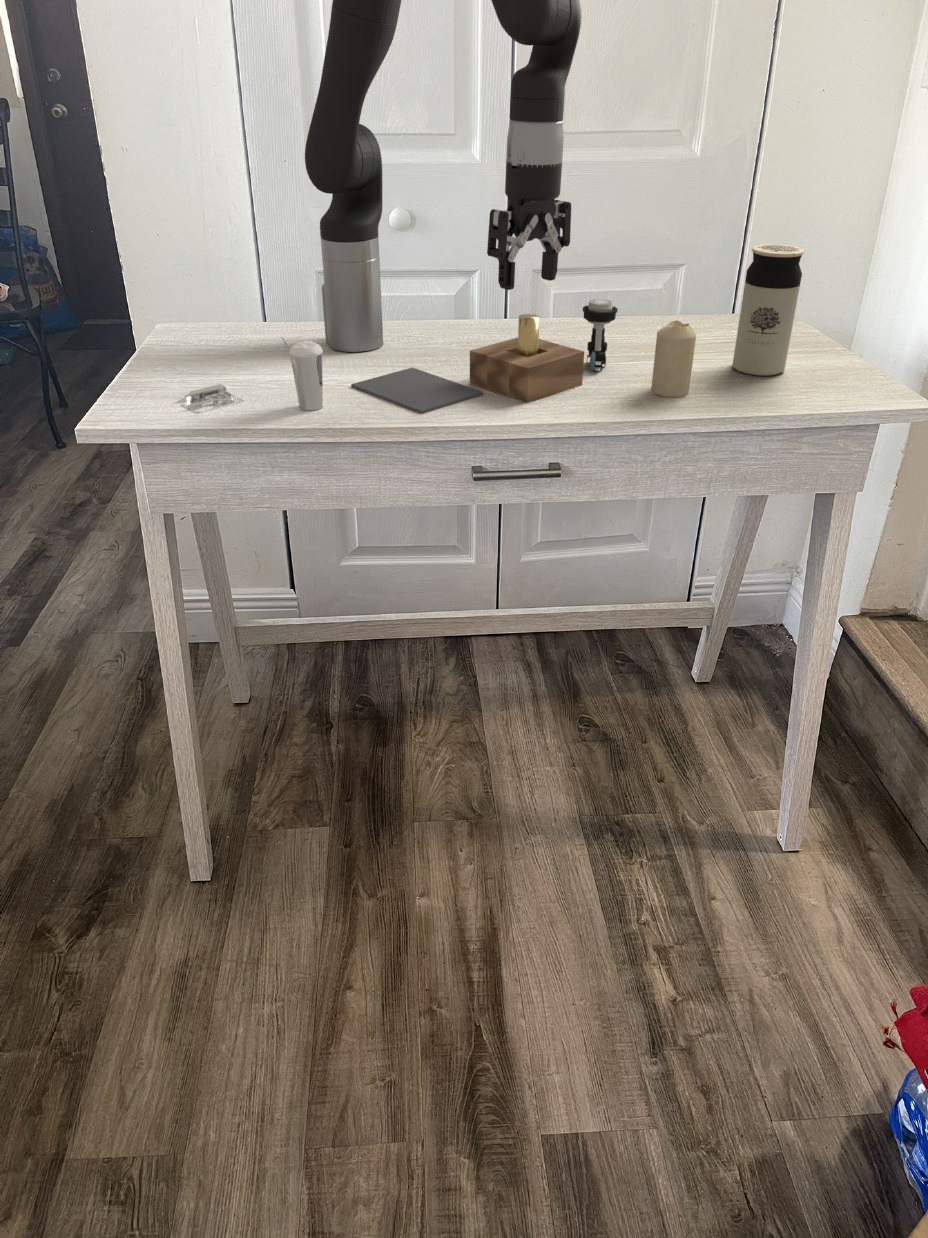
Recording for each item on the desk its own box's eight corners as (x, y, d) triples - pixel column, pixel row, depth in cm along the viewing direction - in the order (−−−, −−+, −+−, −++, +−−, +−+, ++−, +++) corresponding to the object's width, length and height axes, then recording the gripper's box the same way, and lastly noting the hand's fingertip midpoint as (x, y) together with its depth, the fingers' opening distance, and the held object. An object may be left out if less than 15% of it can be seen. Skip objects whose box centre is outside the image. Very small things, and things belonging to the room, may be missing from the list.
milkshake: (290, 402, 135) (283, 332, 130) (327, 401, 136) (322, 331, 130) (287, 413, 132) (280, 341, 126) (326, 412, 132) (320, 340, 127)
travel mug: (743, 358, 153) (761, 241, 144) (791, 367, 149) (813, 247, 140) (724, 370, 148) (742, 249, 138) (773, 380, 144) (795, 256, 134)
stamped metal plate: (222, 393, 141) (220, 383, 140) (246, 405, 136) (245, 395, 136) (173, 404, 136) (171, 395, 135) (196, 417, 132) (195, 407, 131)
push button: (614, 374, 146) (619, 308, 141) (579, 373, 147) (584, 307, 141) (611, 361, 152) (617, 297, 147) (578, 360, 152) (582, 297, 147)
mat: (351, 386, 141) (351, 384, 141) (412, 369, 148) (412, 367, 148) (421, 413, 131) (421, 410, 131) (483, 394, 138) (483, 391, 138)
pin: (512, 383, 142) (514, 316, 137) (526, 379, 144) (528, 312, 139) (526, 388, 141) (529, 320, 135) (540, 384, 142) (543, 316, 137)
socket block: (469, 383, 143) (469, 350, 140) (524, 366, 150) (525, 335, 147) (527, 402, 135) (528, 368, 133) (582, 384, 142) (584, 351, 140)
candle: (648, 385, 142) (655, 317, 137) (685, 385, 142) (694, 318, 136) (653, 397, 137) (661, 327, 132) (691, 397, 137) (700, 328, 132)
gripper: (549, 151, 132) (542, 272, 141) (476, 159, 124) (473, 286, 133) (590, 157, 128) (580, 281, 136) (517, 165, 119) (511, 297, 128)
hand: (527, 283), depth 135 cm, fingers open, 8 cm apart
